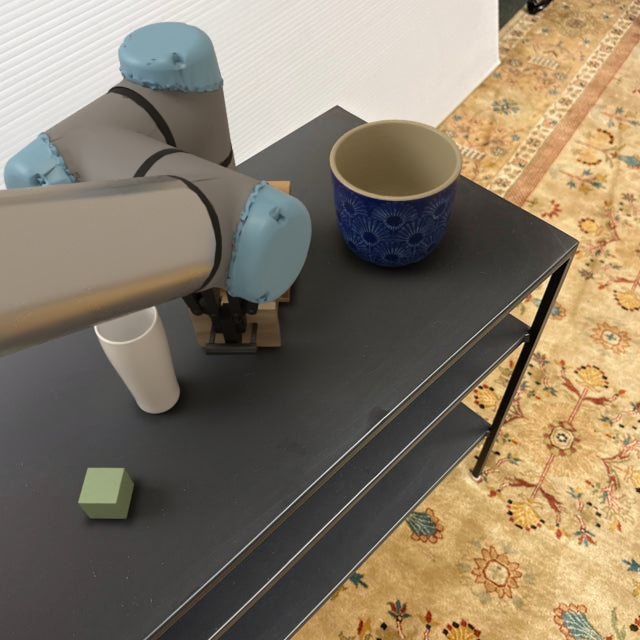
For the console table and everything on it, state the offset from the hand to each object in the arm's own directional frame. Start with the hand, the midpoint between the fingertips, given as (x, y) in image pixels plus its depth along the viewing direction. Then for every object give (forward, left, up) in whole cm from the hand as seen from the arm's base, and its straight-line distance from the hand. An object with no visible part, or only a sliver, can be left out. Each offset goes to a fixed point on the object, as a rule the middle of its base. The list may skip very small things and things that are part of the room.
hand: (235, 345), depth 79 cm
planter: (+20, +21, -3) cm, 29 cm away
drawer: (0, +6, -2) cm, 7 cm away
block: (-12, -19, -3) cm, 23 cm away
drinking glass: (-9, -5, -3) cm, 11 cm away
